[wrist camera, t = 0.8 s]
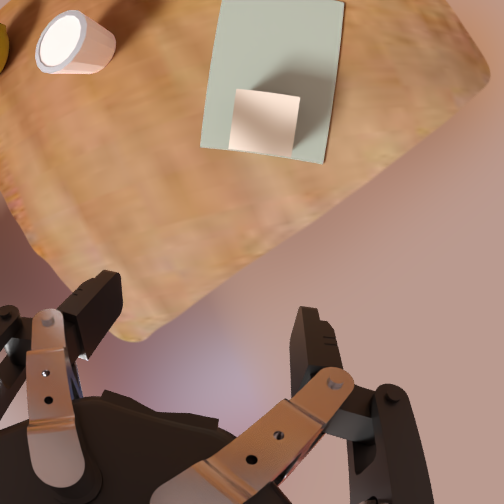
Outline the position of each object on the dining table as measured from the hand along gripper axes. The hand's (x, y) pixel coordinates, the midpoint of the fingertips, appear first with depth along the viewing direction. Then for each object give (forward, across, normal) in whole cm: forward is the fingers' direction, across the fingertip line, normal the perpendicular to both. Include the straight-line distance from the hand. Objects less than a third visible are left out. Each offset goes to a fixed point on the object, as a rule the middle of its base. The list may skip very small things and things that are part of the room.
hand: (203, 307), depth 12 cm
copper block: (+18, -1, -8) cm, 20 cm away
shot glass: (+19, +19, -16) cm, 31 cm away
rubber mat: (+19, -1, -14) cm, 23 cm away
